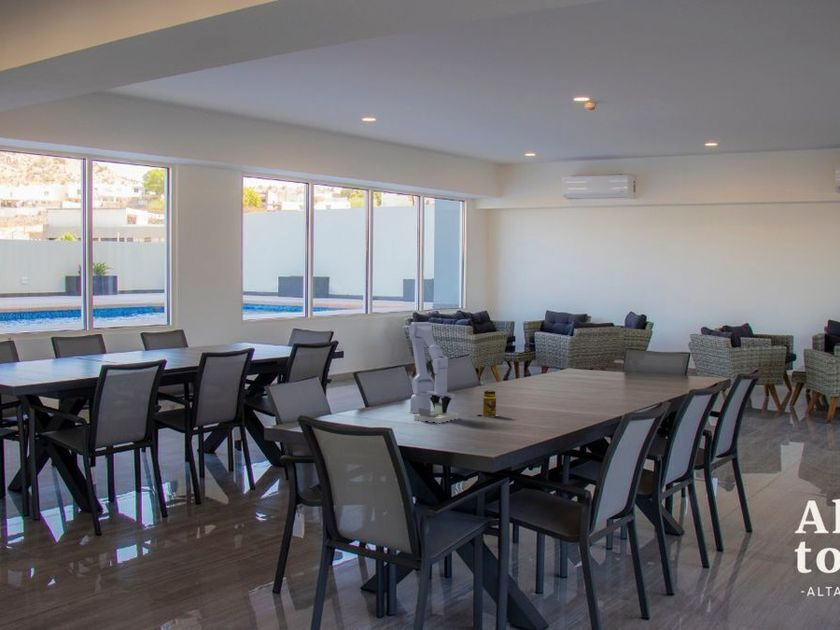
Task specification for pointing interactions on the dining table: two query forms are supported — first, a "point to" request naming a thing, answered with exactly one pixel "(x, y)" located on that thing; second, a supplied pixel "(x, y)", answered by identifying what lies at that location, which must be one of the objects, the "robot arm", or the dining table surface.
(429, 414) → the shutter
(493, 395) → the yellow metal cylinder
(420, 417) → the socket
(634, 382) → the dining table surface
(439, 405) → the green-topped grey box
